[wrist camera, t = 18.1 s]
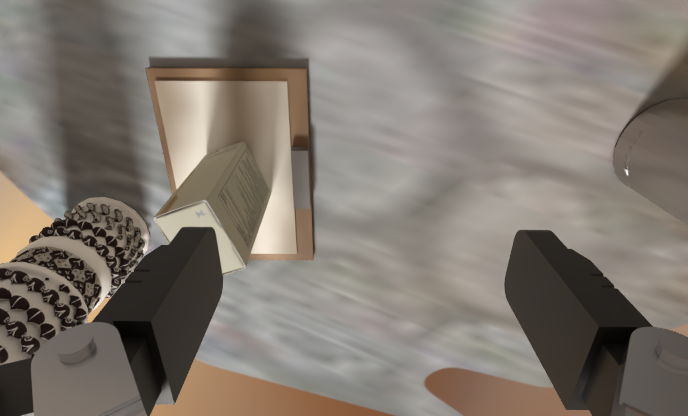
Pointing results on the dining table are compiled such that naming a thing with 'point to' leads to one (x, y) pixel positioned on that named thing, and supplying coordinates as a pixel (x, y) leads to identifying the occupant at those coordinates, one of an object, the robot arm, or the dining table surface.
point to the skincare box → (221, 203)
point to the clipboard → (251, 127)
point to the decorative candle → (67, 273)
